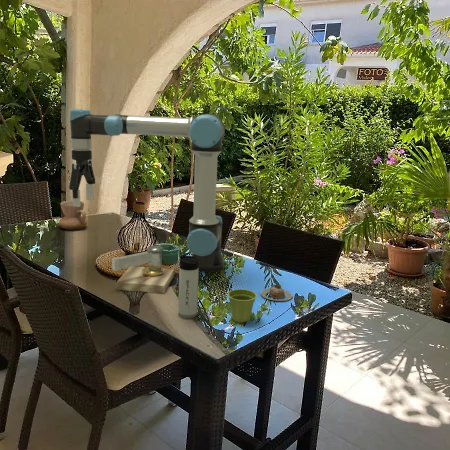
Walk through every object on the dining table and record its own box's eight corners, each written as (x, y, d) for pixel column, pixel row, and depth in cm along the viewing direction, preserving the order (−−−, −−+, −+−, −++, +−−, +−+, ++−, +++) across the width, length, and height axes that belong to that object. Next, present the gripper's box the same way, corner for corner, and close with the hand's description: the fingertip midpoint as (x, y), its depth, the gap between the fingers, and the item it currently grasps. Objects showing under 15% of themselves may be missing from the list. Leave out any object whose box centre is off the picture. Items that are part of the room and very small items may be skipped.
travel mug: (186, 308, 159) (188, 253, 154) (200, 314, 155) (202, 257, 150) (173, 314, 155) (174, 257, 150) (188, 320, 151) (189, 262, 146)
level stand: (173, 276, 188) (174, 268, 188) (164, 293, 171) (164, 285, 170) (130, 273, 190) (130, 265, 189) (116, 289, 172) (116, 281, 172)
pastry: (267, 304, 167) (268, 292, 166) (255, 291, 178) (256, 280, 177) (297, 302, 170) (298, 290, 169) (284, 289, 181) (285, 278, 180)
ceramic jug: (52, 227, 250) (50, 202, 247) (74, 223, 262) (73, 198, 258) (73, 234, 241) (72, 207, 237) (95, 228, 252) (94, 203, 249)
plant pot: (252, 326, 148) (254, 301, 146) (224, 322, 150) (225, 298, 148) (256, 314, 157) (258, 290, 155) (229, 311, 159) (231, 287, 157)
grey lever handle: (155, 267, 187) (155, 244, 185) (167, 273, 182) (167, 249, 179) (108, 278, 173) (107, 253, 171) (119, 284, 168) (119, 259, 165)
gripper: (84, 146, 193) (86, 196, 198) (58, 151, 169) (60, 208, 174) (102, 147, 192) (103, 197, 197) (77, 152, 168) (80, 209, 173)
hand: (83, 203), depth 186 cm, fingers open, 13 cm apart
